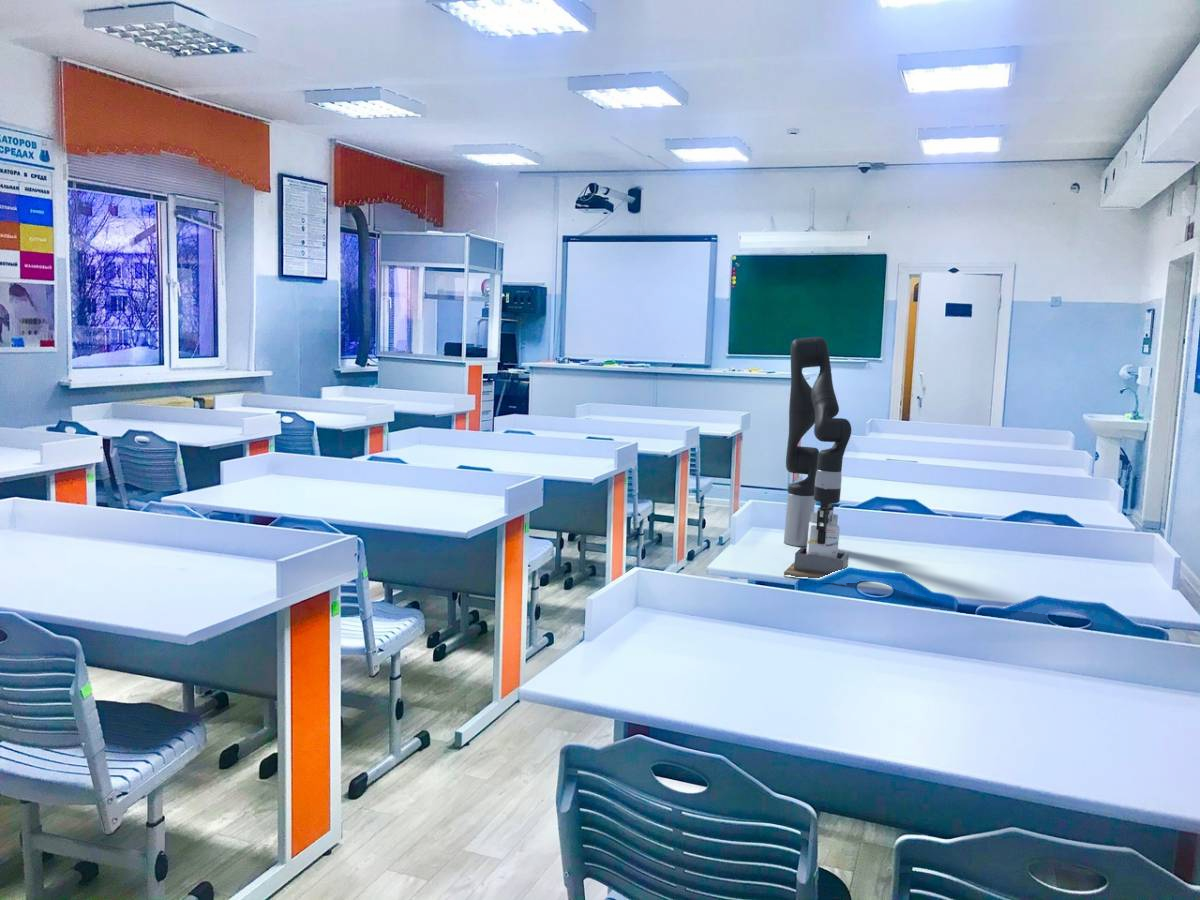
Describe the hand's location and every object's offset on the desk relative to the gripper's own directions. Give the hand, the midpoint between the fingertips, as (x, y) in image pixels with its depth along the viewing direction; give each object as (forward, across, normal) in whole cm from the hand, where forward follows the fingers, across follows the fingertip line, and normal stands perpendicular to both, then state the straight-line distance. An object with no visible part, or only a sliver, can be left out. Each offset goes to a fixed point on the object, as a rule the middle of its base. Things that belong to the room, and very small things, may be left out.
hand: (823, 541), depth 288 cm
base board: (+10, 0, 0) cm, 10 cm away
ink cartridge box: (+7, 0, 0) cm, 7 cm away
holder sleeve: (+9, 0, 0) cm, 9 cm away
